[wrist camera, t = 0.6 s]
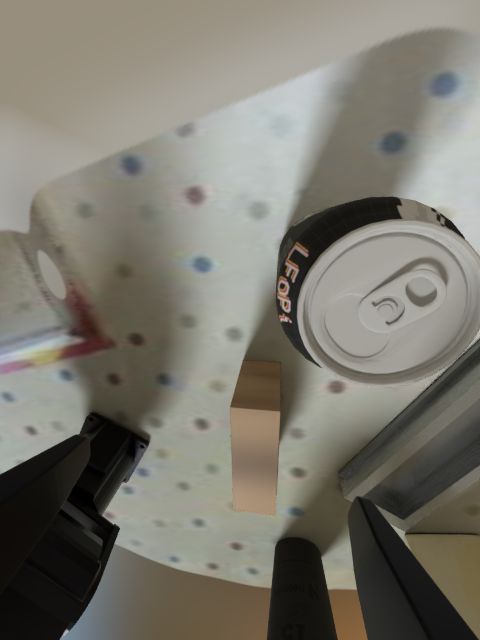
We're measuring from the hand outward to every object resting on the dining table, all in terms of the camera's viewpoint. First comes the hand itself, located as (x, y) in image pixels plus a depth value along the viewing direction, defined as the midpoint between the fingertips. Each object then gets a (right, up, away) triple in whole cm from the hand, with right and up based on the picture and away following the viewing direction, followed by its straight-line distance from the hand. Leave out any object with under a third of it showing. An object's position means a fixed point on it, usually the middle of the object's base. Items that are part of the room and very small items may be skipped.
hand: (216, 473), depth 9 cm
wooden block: (+3, -2, +14) cm, 15 cm away
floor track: (+17, -4, +13) cm, 21 cm away
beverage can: (+6, +9, +9) cm, 15 cm away
